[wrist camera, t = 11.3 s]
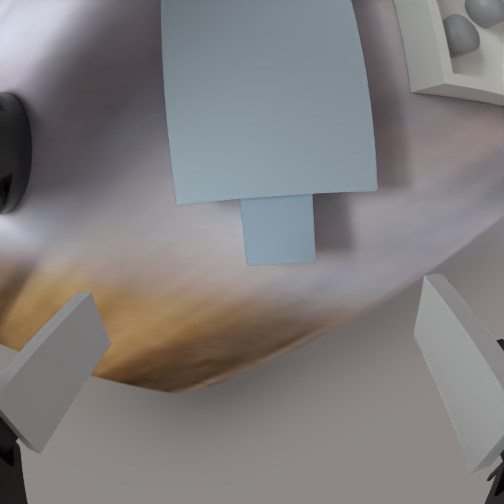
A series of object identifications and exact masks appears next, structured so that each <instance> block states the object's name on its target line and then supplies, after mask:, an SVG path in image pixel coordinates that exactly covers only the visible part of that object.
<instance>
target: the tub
mask: <svg viewBox="0 0 504 504" xmlns="http://www.w3.org/2000/svg"><path fill="white" fill-rule="evenodd" d="M393 2H394V6H395V10H396V14H397V18H398V23H399V27H400V32H401V36H402V41H403V47H404V52H405V58H406V64H407V70H408V77H409V85H410V93H420V94H430V95H439V96H446V97H454V98H460V99H466V100H472V101H478V102H483V103H488V104H493V105H498V106H502V107H504V0H393Z"/></svg>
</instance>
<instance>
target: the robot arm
mask: <svg viewBox="0 0 504 504" xmlns="http://www.w3.org/2000/svg"><path fill="white" fill-rule="evenodd" d="M30 163H31V138H30V130H29V124H28V120H27V117H26V114H25V111H24V109H23V107H22V105H21V103H20V102H19V100H18V99H17V98H16V97H15V96H13V95H12V94H10V93H5V92H2V93H0V215H2V214H4V213H6V212H9V211H11V210H12V209H13V208H14V207H15V206H16V205H17V204H18V203H19V201H20V199H21V198H22V196H23V193H24V191H25V188H26V185H27V181H28V177H29V171H30ZM413 336H414V338H415V340H416V342H417V344H418V346H419V348H420V350H421V352H422V354H423V357H424V359H425V361H426V363H427V365H428V367H429V369H430V372H431V374H432V376H433V378H434V380H435V383H436V385H437V387H438V390H439V392H440V394H441V397H442V399H443V401H444V404H445V406H446V409H447V411H448V414H449V416H450V419H451V421H452V424H453V426H454V429H455V432H456V434H457V437H458V440H459V443H460V445H461V448H462V451H463V454H464V457H465V460H466V463H467V466H468V469H469V472H470V473H473V472H475V471H478V470H480V469H483V468H485V467H487V466H490V465H491V464H492V463H493V462H494V461H495V460H496V459H497V457H499V455H501V457H502V460H503V462H502V463H501V464H500V465H499V466H498V467H497V468H496V469H495V470H494V471H493V472H492V473H491V474H490V476H489V477H488V479H487V481H490V480H491V479H492V478H493V477H494V476H495V475H496V477H495V479H494V482H493V485H492V487H491V490H490V492H489V495H488V497H487V499H486V502H485V504H504V340H503V339H500V340H495V338H494V337H493V336H492V334H491V333H490V332H489V330H488V329H487V328H486V326H485V325H484V324H483V323H482V321H481V320H480V319H479V318H478V316H477V315H476V314H475V312H474V311H473V310H472V309H471V307H470V306H469V305H468V304H467V303H466V301H465V300H464V299H463V298H462V297H461V295H460V294H459V293H458V292H457V291H456V289H455V288H454V287H453V286H452V285H451V284H450V282H449V281H447V279H446V278H445V277H444V276H443V275H442V274H441V273H440V274H431V275H424V280H423V287H422V293H421V298H420V304H419V309H418V315H417V319H416V324H415V329H414V333H413ZM111 344H112V343H111V341H110V339H109V337H108V334H107V332H106V330H105V327H104V325H103V322H102V320H101V317H100V315H99V312H98V310H97V307H96V304H95V302H94V299H93V296H92V294H91V292H78V293H77V294H76V295H75V296H74V297H72V298H71V299H70V300H69V301H68V302H67V303H66V304H65V305H64V306H63V307H62V308H61V309H60V310H59V311H58V312H57V313H56V314H55V315H54V316H53V317H52V318H51V319H50V320H49V321H48V322H47V323H46V324H45V325H44V326H43V327H42V328H41V330H40V331H39V332H38V333H37V334H36V335H35V336H34V337H33V338H32V339H31V340H30V341H29V342H28V343H27V344H26V345H25V347H24V348H23V349H22V350H21V351H20V352H19V353H18V354H17V355H16V357H15V358H14V359H13V360H12V361H11V362H10V363H9V364H8V365H7V367H6V368H5V369H4V370H3V371H2V372H1V374H0V504H28V503H27V498H26V493H25V486H24V479H23V472H22V462H21V452H20V447H19V445H18V444H17V442H16V440H17V439H18V438H19V439H20V440H21V441H22V442H23V443H24V444H25V445H26V446H27V447H28V448H29V449H31V450H33V451H35V452H37V453H39V454H41V453H42V451H43V449H44V447H45V446H46V444H47V443H48V441H49V439H50V438H51V436H52V434H53V432H54V431H55V429H56V428H57V426H58V424H59V423H60V421H61V419H62V418H63V416H64V415H65V413H66V411H67V410H68V408H69V407H70V405H71V404H72V402H73V400H74V399H75V397H76V396H77V394H78V393H79V391H80V390H81V388H82V386H83V385H84V383H85V382H86V381H87V379H88V377H89V376H90V374H91V373H92V371H93V370H94V369H95V367H96V366H97V364H98V363H99V361H100V360H101V358H102V357H103V355H104V354H105V352H106V351H107V349H108V348H109V347H110V345H111Z"/></svg>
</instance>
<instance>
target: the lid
mask: <svg viewBox="0 0 504 504" xmlns="http://www.w3.org/2000/svg"><path fill="white" fill-rule="evenodd" d="M161 39H162V62H163V79H164V93H165V106H166V118H167V129H168V139H169V148H170V157H171V166H172V174H173V182H174V190H175V198H176V205H184V204H193V203H202V202H212V201H222V200H233V199H240V205H241V214H242V224H243V233H244V242H245V251H246V260H247V266H253V265H273V264H292V263H311V262H316V257H315V233H314V215H313V198H312V194H316V193H336V192H362V191H378V186H377V166H376V151H375V139H374V128H373V118H372V110H371V102H370V94H369V87H368V80H367V74H366V68H365V62H364V57H363V51H362V46H361V41H360V36H359V31H358V27H357V22H356V18H355V14H354V10H353V6H352V2H351V0H161Z"/></svg>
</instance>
